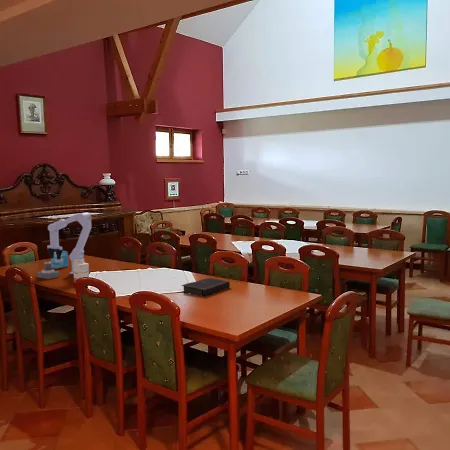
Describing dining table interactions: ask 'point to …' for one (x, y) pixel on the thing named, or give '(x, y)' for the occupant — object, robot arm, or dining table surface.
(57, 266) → the data package
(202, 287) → the diary
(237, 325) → the dining table surface
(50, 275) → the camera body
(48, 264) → the lens
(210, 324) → the dining table surface
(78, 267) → the ink cartridge box
